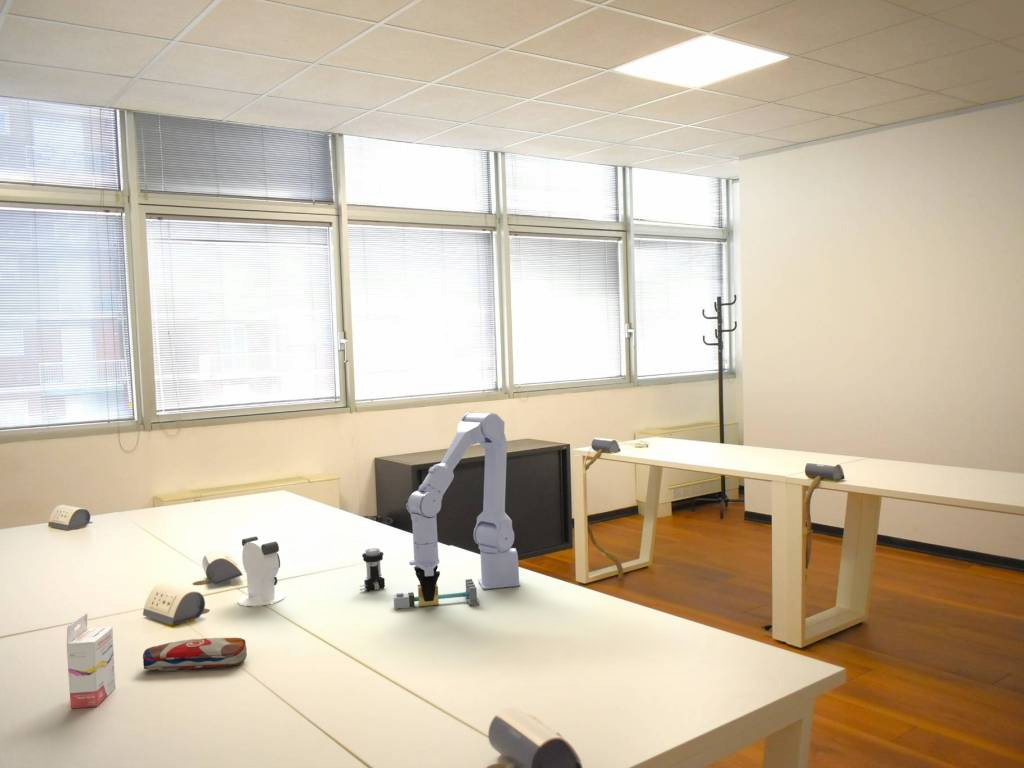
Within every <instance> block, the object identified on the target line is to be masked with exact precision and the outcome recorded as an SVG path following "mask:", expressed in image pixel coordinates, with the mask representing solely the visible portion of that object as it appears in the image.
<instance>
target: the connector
mask: <svg viewBox="0 0 1024 768" xmlns="http://www.w3.org/2000/svg"><path fill="white" fill-rule="evenodd" d="M409 607H410V606H409V595H408V593H404V592H396V594H393V608H394V610H398V608H403V609H410V608H409Z"/></svg>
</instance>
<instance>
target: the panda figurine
mask: <svg viewBox="0 0 1024 768" xmlns="http://www.w3.org/2000/svg"><path fill="white" fill-rule="evenodd" d="M241 545H242V547H243V548H242V554H241V555H242V566H243V569H244V571H245V573H246V582H247V595H243V596H242V597H240V598H239V599H238V600H237V604H238V603H239V604H242V605H246V606H259V607H263V606H262V605H266V606H269V605H268V604H271V603H275V602H278V601H280V602H282V601H283V600H282V599H284V598H286V594H285V593H284V592H280V591H275V586H277V585H278V577H277V575H278V572H279V569H280V567H281V560H280V559H281V558H280V555H279V553H278V552H279V551H280V547H279V543H278V542H277V541H272V542H270V540H268V539H263V538H262V539H259V538H258V536H256V535H255V536H250V537H246V538H242V539H241ZM281 600H282V601H281ZM284 600H285V599H284ZM278 603H279V602H278ZM239 604H238V605H239ZM275 604H276V603H275ZM271 605H272V604H271ZM246 606H245V607H246Z"/></svg>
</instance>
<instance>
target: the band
mask: <svg viewBox="0 0 1024 768" xmlns="http://www.w3.org/2000/svg"><path fill="white" fill-rule="evenodd" d="M407 594H408V595H409V606H410V607H413V608H416V607H415V605H416V604H415V601H414V597H415V593H414V592H413V591H411V592H408V593H407Z"/></svg>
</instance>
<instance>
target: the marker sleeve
mask: <svg viewBox="0 0 1024 768" xmlns="http://www.w3.org/2000/svg"><path fill="white" fill-rule="evenodd" d="M437 583H438V582H437ZM437 583H436V588H435V595H434V600H433V601H426V602H425V601H424V598H423V593H422V588H421V585H420V584H417V597H419V601H418V605H419V606H418V607H429V606H436V605H437V606H438V605H440V601H439V600H440V599H438V595H439V587H438V584H437Z"/></svg>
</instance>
